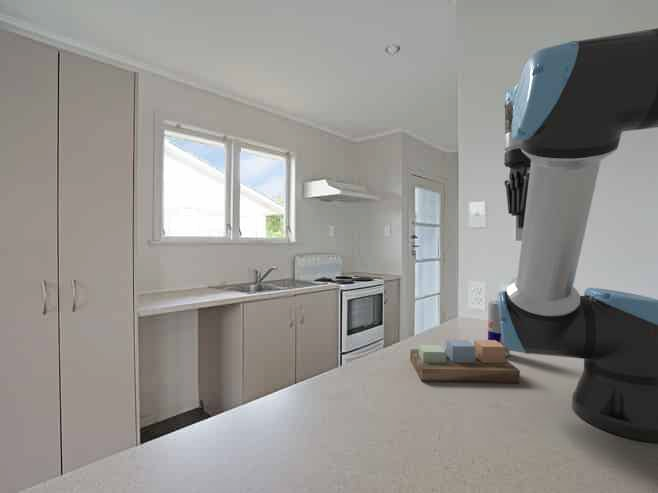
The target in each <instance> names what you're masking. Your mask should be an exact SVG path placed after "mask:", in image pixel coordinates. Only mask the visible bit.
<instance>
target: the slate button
mask: <svg viewBox="0 0 658 493" xmlns="http://www.w3.org/2000/svg"><path fill="white" fill-rule="evenodd" d="M445 350H446V355H447V357H448V358H449V359H450V360H451V361H452V362H453V363H475V351H476V346H474V343H472V342H471V341H469V339H446V340H445Z"/></svg>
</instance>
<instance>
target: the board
mask: <svg viewBox="0 0 658 493" xmlns="http://www.w3.org/2000/svg"><path fill="white" fill-rule="evenodd" d="M444 351H445V352H446V349H444ZM409 357H410V359H409V360H410V362H411V364H412V366H413V368H414V369H415V371H416V374H417V376H418V377H419V379H420V381H421V382H424V383H425V382H427V383H431V382H433V383H475V384H476V383H477V384H478V383H481V384H485V383H486V384H488V383H489V384H520V382H521V380H520V379H521V378H520V377H521V376H520V372H521V371H520V369H518V368H517V367H516V366H515V365H513V364H512V363H511V362H509V361H508V360H506V359H505V363H482V362H480V361H479V360H478V359H477V358H476V357H475V363H453V362H452V361H451V360H450V359H449V358H448V357H447V355H446V363H423V362H422V361H421V360H420V358H419V348H418V349H416V348H410V356H409Z"/></svg>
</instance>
